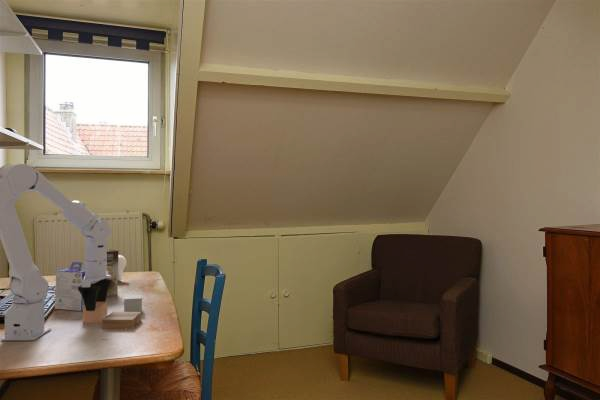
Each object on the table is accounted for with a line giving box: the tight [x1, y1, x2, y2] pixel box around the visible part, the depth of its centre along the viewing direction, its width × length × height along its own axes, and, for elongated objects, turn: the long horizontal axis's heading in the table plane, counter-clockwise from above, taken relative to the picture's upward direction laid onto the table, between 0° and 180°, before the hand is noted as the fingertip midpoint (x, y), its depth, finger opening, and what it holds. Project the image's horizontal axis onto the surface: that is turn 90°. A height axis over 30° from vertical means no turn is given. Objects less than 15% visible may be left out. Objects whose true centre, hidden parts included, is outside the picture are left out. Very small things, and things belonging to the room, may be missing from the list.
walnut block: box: [102, 311, 142, 330], centre depth 130 cm, size 8×8×3 cm
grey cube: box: [123, 294, 143, 315], centre depth 143 cm, size 5×5×5 cm
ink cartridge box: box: [54, 261, 85, 312], centre depth 147 cm, size 10×6×14 cm, turn 78°
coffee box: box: [106, 249, 120, 298], centre depth 165 cm, size 9×6×16 cm
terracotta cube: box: [82, 301, 108, 324], centre depth 133 cm, size 5×5×5 cm
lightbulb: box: [118, 254, 127, 283], centre depth 191 cm, size 6×6×11 cm
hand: (95, 307), depth 133 cm, fingers open, 7 cm apart
